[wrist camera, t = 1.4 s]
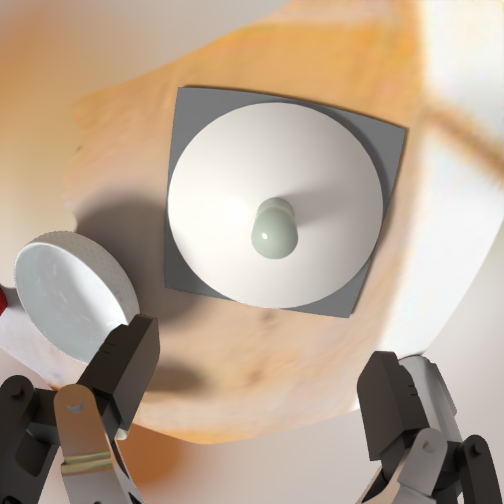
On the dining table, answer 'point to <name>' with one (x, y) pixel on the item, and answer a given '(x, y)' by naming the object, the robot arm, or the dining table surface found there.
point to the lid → (275, 205)
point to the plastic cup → (2, 302)
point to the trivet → (224, 101)
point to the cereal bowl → (73, 292)
